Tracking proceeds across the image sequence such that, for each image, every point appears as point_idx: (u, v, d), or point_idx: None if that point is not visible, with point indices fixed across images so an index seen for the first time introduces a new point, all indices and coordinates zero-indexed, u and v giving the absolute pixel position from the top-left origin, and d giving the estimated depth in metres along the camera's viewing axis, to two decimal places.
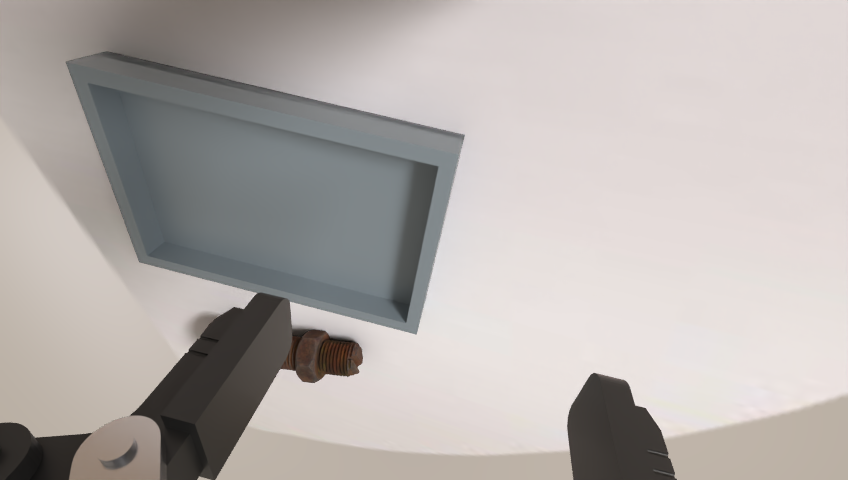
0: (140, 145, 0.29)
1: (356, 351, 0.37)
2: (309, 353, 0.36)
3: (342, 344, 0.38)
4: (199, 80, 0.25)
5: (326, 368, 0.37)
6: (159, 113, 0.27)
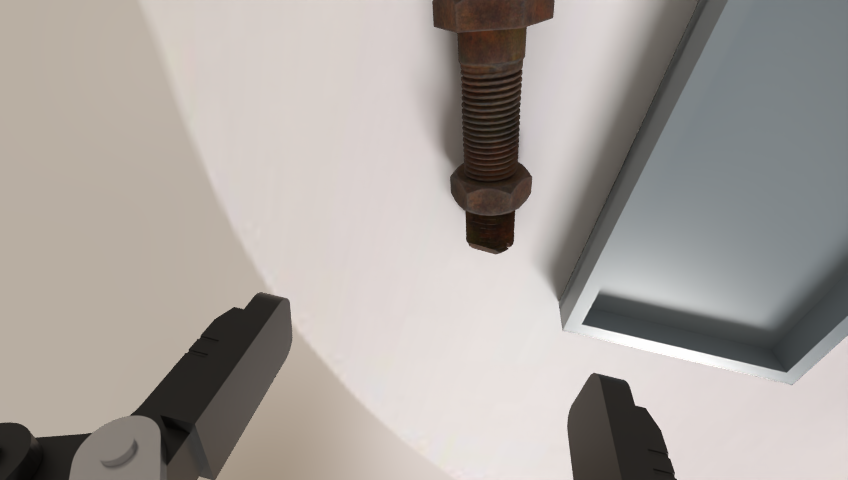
0: None
1: None
2: (520, 200, 0.24)
3: None
4: None
5: (492, 222, 0.25)
6: None
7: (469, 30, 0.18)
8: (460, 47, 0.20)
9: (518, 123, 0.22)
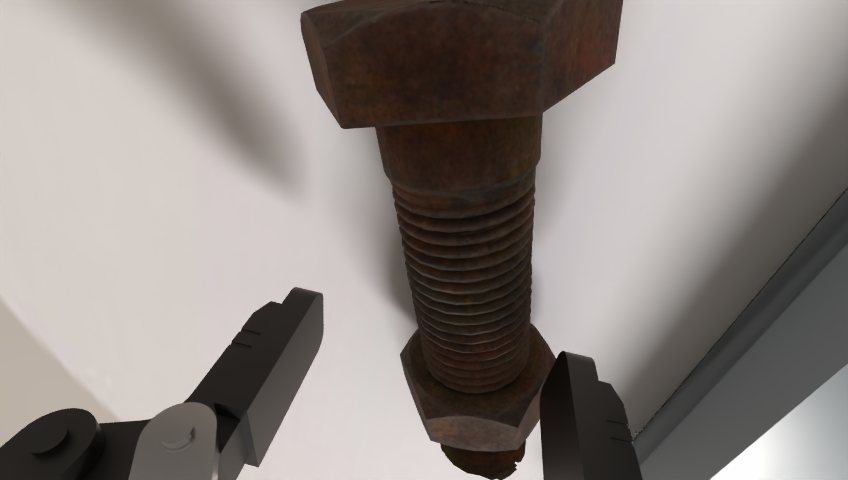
0: None
1: None
2: (537, 415, 0.12)
3: None
4: None
5: None
6: None
7: (377, 123, 0.06)
8: (379, 142, 0.08)
9: (529, 282, 0.10)
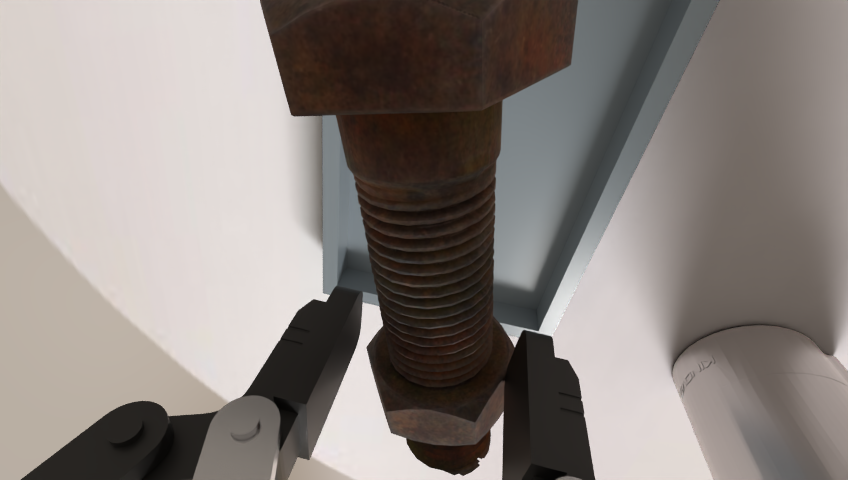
0: None
1: None
2: (497, 411, 0.12)
3: None
4: None
5: None
6: None
7: (326, 112, 0.06)
8: (340, 133, 0.08)
9: (490, 279, 0.10)
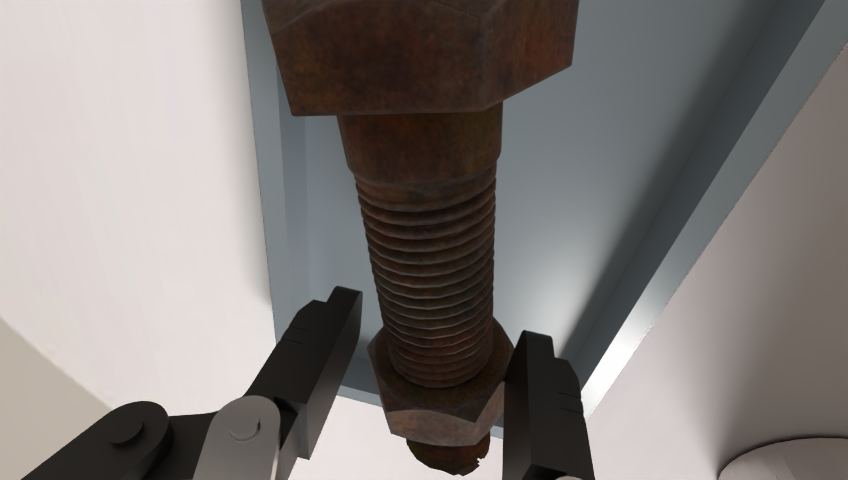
0: None
1: None
2: (497, 412, 0.12)
3: None
4: None
5: None
6: (693, 8, 0.12)
7: (326, 112, 0.06)
8: (340, 133, 0.08)
9: (490, 280, 0.10)
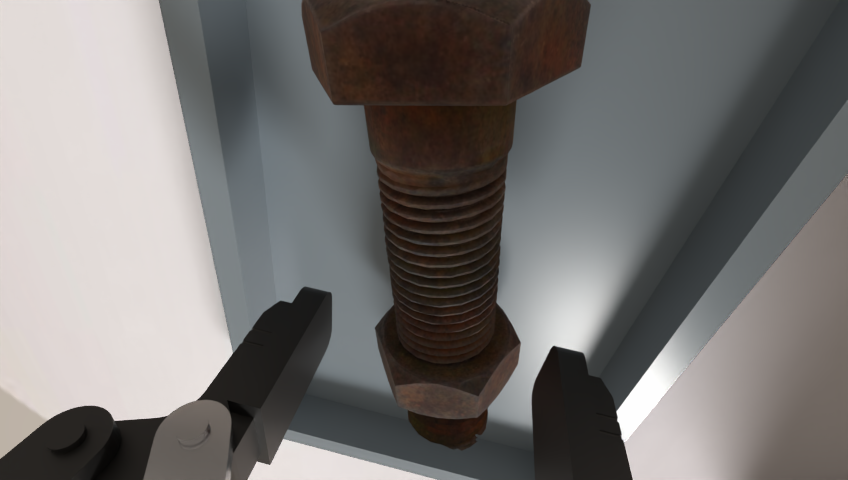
0: None
1: None
2: (497, 388, 0.13)
3: None
4: None
5: None
6: (727, 17, 0.09)
7: (365, 102, 0.07)
8: (367, 123, 0.09)
9: (497, 263, 0.11)
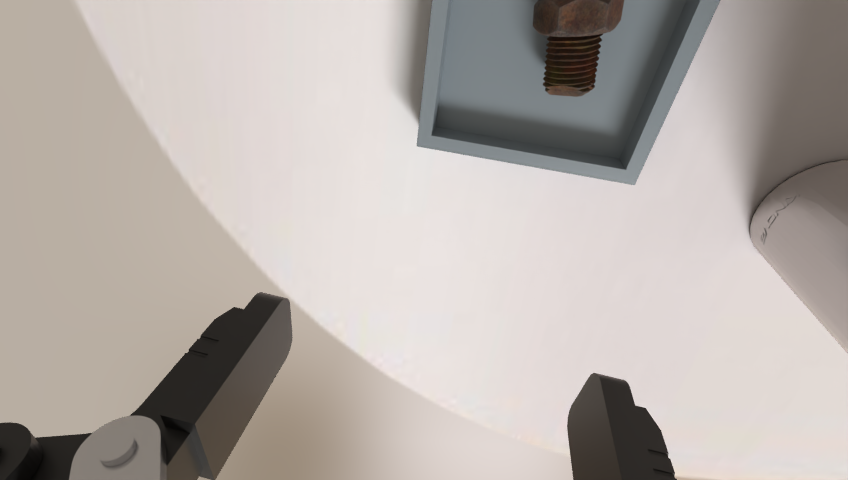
0: None
1: None
2: (613, 20, 0.22)
3: None
4: None
5: (580, 51, 0.23)
6: None
7: None
8: None
9: None
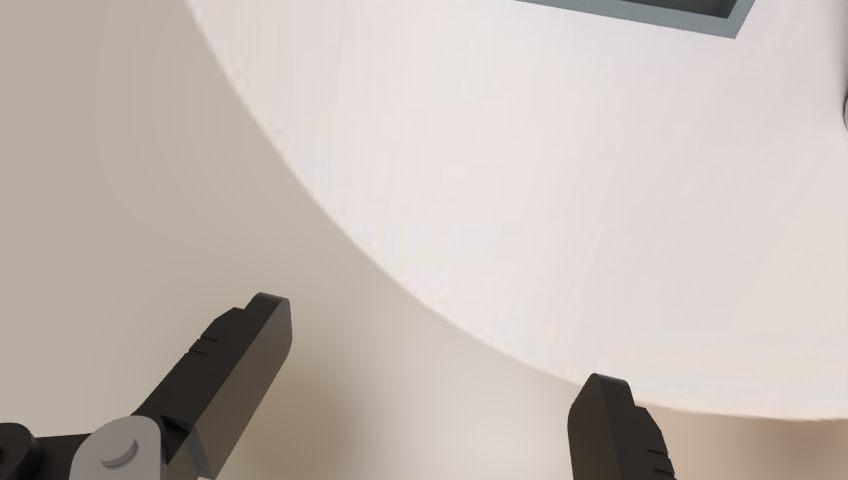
0: None
1: None
2: None
3: None
4: None
5: None
6: None
7: None
8: None
9: None
